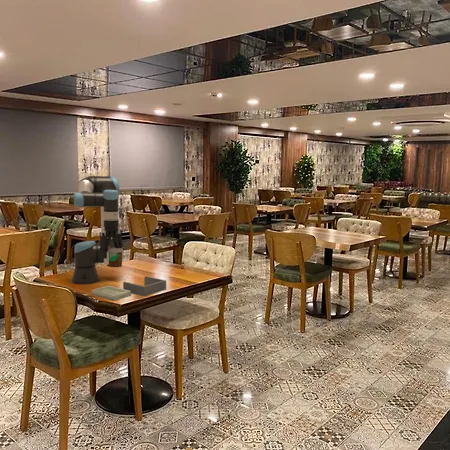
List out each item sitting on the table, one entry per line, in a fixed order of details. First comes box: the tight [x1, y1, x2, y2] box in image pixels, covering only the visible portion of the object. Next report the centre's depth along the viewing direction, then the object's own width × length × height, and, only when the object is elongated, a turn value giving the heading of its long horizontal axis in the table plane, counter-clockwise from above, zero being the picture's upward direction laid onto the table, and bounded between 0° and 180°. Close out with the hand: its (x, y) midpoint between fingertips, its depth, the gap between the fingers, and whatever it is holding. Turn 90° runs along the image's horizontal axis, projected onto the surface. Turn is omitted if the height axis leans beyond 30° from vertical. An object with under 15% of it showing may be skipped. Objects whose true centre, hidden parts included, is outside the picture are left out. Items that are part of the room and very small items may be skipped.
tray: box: [91, 285, 132, 301], centre depth 231 cm, size 17×11×2 cm, turn 56°
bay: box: [122, 275, 167, 297], centre depth 242 cm, size 16×17×5 cm
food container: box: [106, 245, 124, 268], centre depth 229 cm, size 12×6×10 cm, turn 51°
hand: (111, 263), depth 230 cm, fingers closed on food container, 6 cm apart
